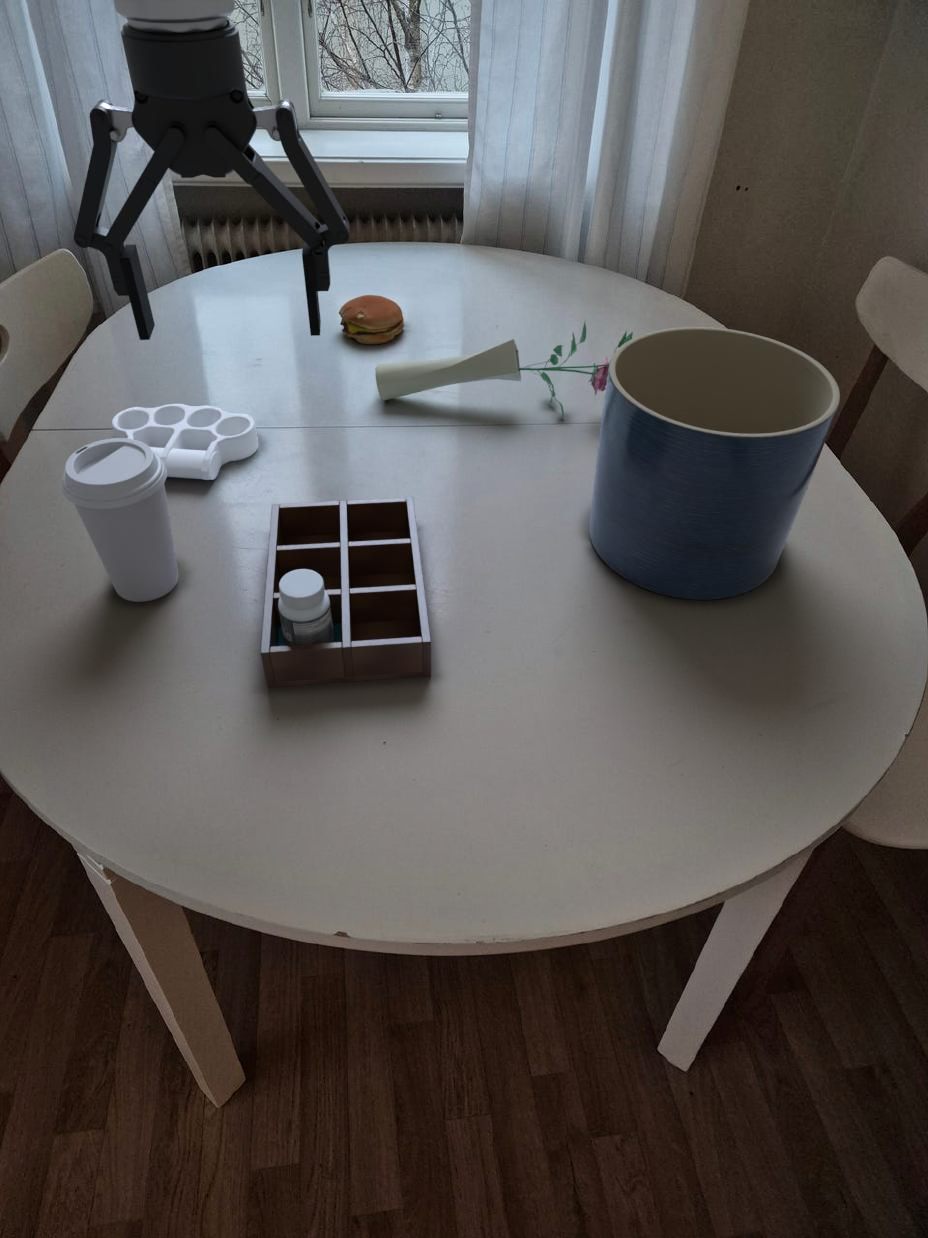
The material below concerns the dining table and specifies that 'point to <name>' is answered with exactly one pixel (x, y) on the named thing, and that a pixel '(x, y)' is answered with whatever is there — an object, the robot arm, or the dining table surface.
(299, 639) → the pill bottle
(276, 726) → the dining table surface
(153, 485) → the coffee cup
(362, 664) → the grid
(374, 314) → the burger
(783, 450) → the planter
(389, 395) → the flower vase
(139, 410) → the knuckle duster
